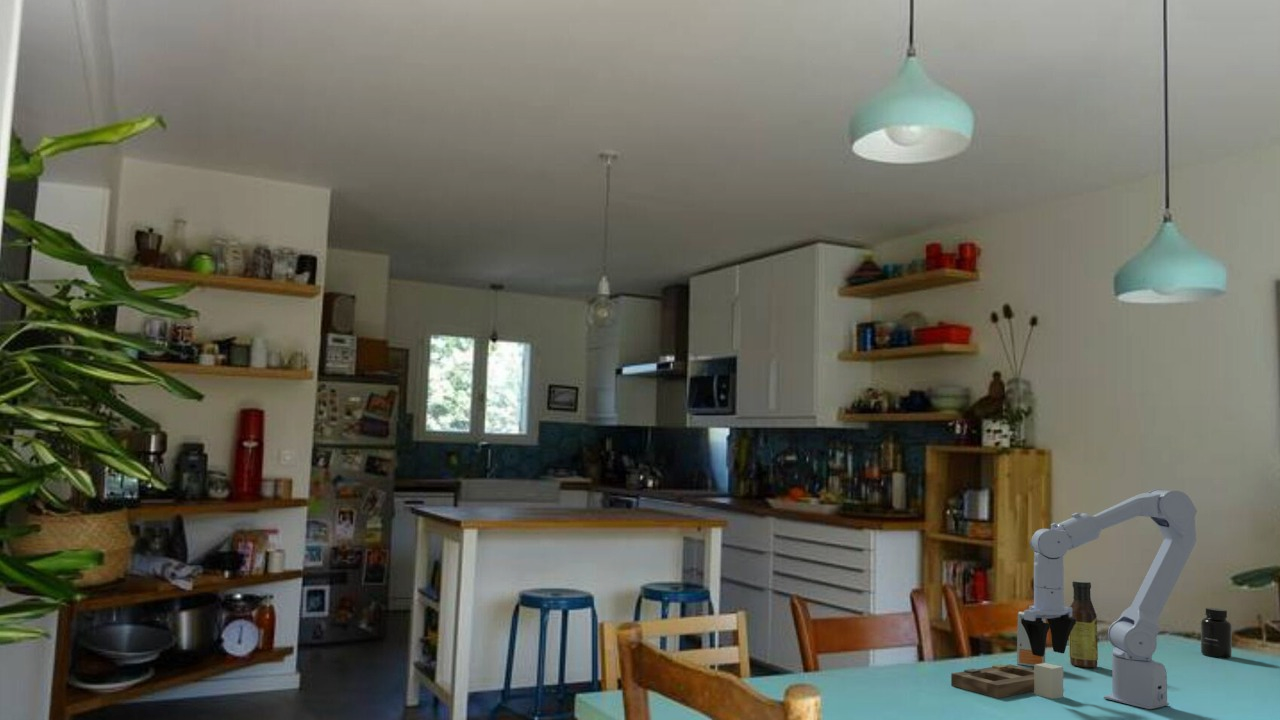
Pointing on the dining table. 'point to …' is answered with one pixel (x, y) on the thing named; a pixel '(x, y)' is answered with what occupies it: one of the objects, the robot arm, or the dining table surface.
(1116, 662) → the robot arm
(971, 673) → the grey tag
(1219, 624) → the supplement bottle
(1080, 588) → the sauce bottle
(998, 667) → the brass tag
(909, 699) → the dining table surface
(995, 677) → the socket board
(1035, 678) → the plug
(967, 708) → the dining table surface
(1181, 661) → the dining table surface
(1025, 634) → the skincare box
